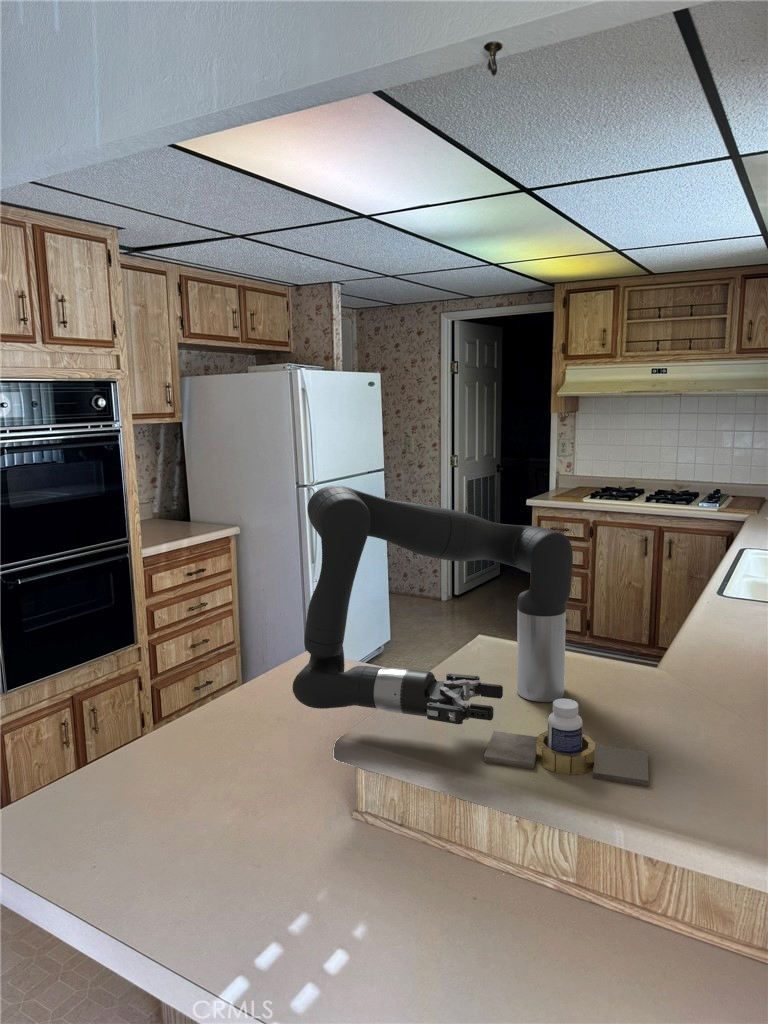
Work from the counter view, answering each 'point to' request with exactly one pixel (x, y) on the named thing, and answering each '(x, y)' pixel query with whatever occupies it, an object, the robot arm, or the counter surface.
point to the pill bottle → (565, 727)
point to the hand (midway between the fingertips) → (498, 702)
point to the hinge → (569, 758)
